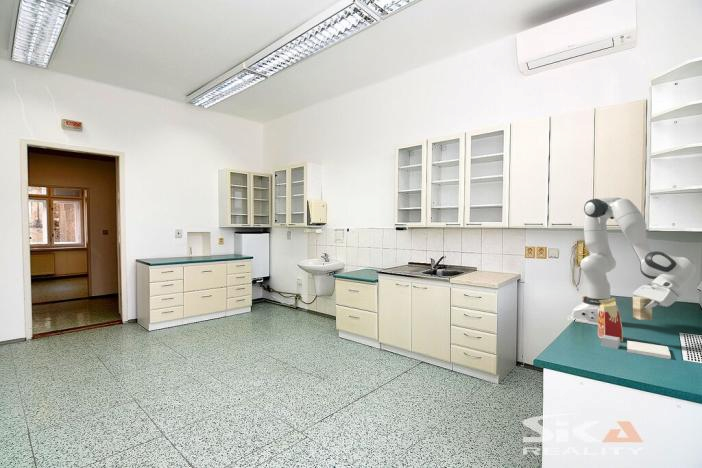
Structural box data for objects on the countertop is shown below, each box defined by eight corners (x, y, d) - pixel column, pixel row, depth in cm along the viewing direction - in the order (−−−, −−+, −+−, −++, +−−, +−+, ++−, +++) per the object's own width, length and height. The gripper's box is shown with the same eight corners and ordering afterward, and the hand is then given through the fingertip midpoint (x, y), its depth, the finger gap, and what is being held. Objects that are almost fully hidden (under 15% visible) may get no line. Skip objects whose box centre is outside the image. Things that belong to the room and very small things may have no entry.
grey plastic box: (601, 346, 160) (601, 337, 160) (603, 343, 164) (603, 334, 164) (617, 349, 156) (617, 340, 156) (619, 346, 160) (619, 337, 160)
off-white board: (627, 352, 151) (627, 348, 151) (627, 343, 162) (627, 340, 162) (670, 359, 143) (670, 355, 143) (667, 349, 154) (667, 346, 154)
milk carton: (616, 336, 174) (616, 296, 174) (624, 341, 166) (624, 299, 165) (595, 334, 177) (594, 295, 177) (601, 339, 169) (601, 298, 168)
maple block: (640, 319, 162) (639, 298, 162) (633, 317, 167) (632, 296, 167) (652, 320, 161) (651, 298, 161) (644, 317, 166) (644, 296, 166)
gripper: (642, 279, 174) (621, 298, 175) (675, 285, 153) (651, 307, 155) (652, 287, 173) (631, 307, 174) (686, 295, 153) (662, 317, 154)
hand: (640, 307), depth 164 cm, fingers closed on maple block, 5 cm apart
